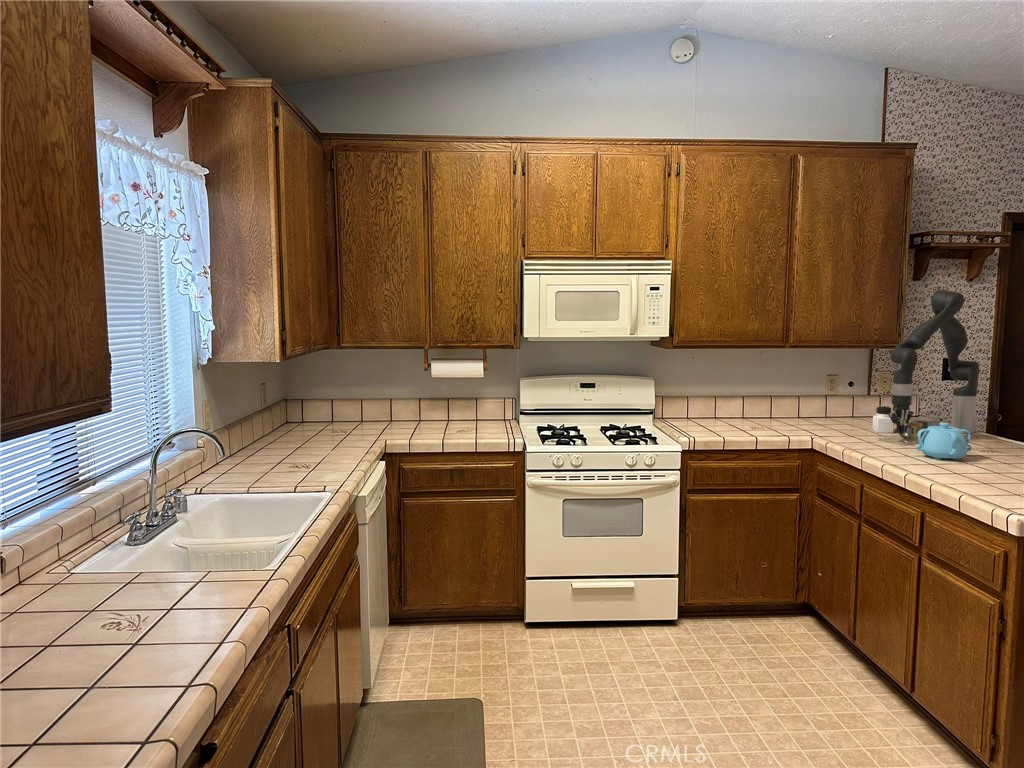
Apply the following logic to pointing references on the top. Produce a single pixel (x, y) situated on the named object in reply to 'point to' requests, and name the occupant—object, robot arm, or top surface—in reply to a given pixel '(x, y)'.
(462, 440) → the top surface
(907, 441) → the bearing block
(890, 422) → the medicine bottle
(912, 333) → the robot arm
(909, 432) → the shaft
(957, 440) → the decorative pot
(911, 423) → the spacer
